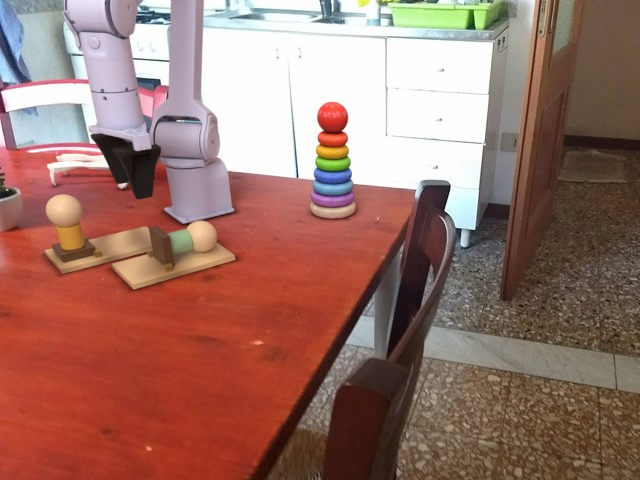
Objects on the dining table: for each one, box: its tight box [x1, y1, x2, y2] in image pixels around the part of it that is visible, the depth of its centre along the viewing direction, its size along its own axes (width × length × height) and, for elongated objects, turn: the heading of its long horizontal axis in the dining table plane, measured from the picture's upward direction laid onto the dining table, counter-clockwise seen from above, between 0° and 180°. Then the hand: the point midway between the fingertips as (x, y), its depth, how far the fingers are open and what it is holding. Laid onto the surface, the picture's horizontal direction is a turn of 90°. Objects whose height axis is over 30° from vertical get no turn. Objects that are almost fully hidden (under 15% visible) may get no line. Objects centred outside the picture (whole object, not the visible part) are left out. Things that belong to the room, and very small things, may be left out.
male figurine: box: [46, 153, 161, 190], centre depth 122 cm, size 14×6×25 cm
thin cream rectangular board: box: [111, 241, 236, 290], centre depth 91 cm, size 15×8×2 cm, turn 131°
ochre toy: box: [45, 193, 96, 262], centre depth 90 cm, size 9×5×5 cm
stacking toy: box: [309, 101, 357, 220], centre depth 106 cm, size 8×8×19 cm
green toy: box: [148, 220, 218, 266], centre depth 91 cm, size 9×5×5 cm, turn 131°
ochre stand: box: [44, 226, 152, 275], centre depth 94 cm, size 15×8×2 cm, turn 131°
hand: (133, 189), depth 88 cm, fingers open, 7 cm apart
